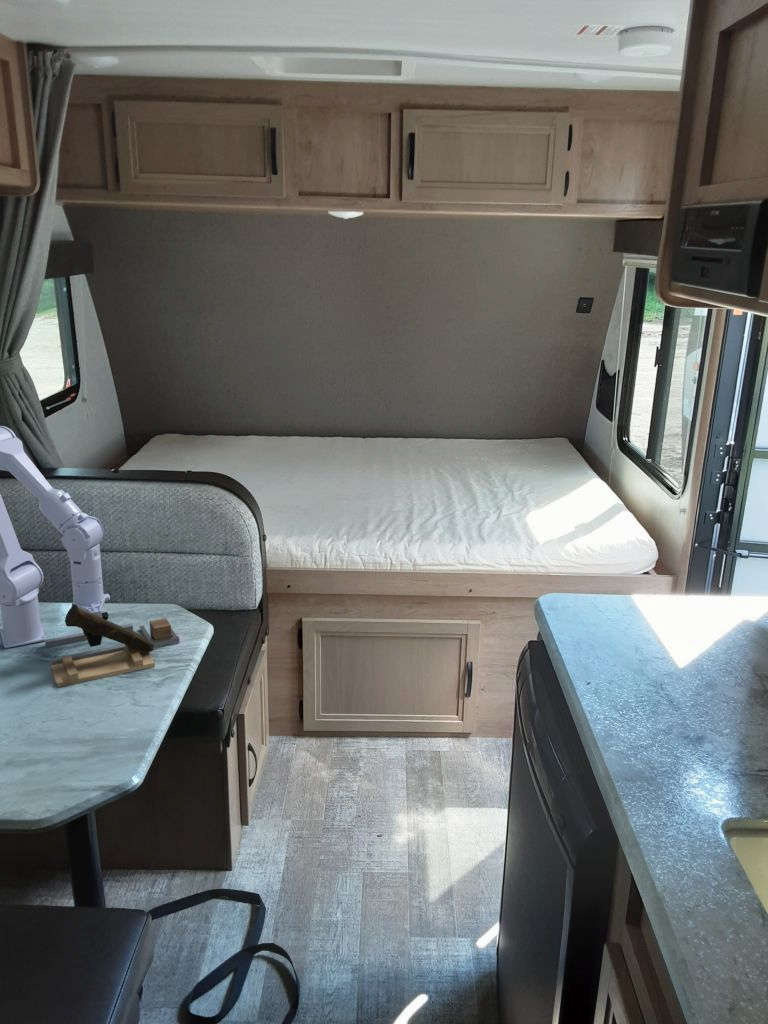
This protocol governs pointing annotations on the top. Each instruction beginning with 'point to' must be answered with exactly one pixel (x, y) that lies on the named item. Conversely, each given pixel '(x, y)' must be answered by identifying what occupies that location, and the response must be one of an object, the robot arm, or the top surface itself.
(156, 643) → the key guide
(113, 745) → the top surface
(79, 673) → the rack
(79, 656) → the socket channel
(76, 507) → the robot arm
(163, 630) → the key block
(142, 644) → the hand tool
